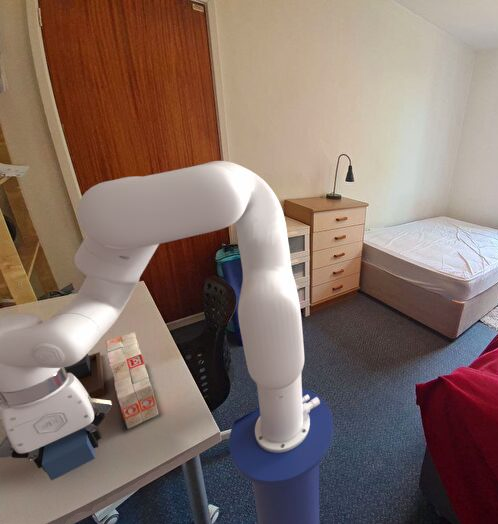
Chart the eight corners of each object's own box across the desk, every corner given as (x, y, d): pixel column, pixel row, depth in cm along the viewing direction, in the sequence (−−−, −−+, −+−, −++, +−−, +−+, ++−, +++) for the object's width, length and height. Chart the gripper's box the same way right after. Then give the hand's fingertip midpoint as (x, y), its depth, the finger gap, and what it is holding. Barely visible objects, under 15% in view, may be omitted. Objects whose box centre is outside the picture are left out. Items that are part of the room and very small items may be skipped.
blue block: (93, 433, 59) (86, 417, 57) (95, 458, 54) (87, 442, 52) (54, 451, 55) (45, 435, 54) (51, 481, 50) (41, 464, 49)
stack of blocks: (160, 414, 67) (148, 374, 63) (127, 430, 63) (112, 389, 59) (144, 366, 82) (134, 330, 77) (117, 376, 78) (104, 339, 73)
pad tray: (101, 357, 84) (99, 351, 84) (105, 393, 72) (102, 387, 72) (51, 374, 78) (49, 368, 77) (46, 416, 66) (43, 410, 65)
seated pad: (90, 361, 82) (86, 348, 80) (91, 374, 77) (86, 362, 75) (62, 370, 78) (56, 357, 77) (61, 385, 73) (55, 372, 72)
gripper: (-55, 429, 40) (2, 505, 47) (102, 371, 51) (130, 439, 57) (-39, 396, 45) (10, 469, 52) (100, 350, 56) (126, 415, 62)
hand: (73, 453), depth 54 cm, fingers closed on blue block, 6 cm apart
